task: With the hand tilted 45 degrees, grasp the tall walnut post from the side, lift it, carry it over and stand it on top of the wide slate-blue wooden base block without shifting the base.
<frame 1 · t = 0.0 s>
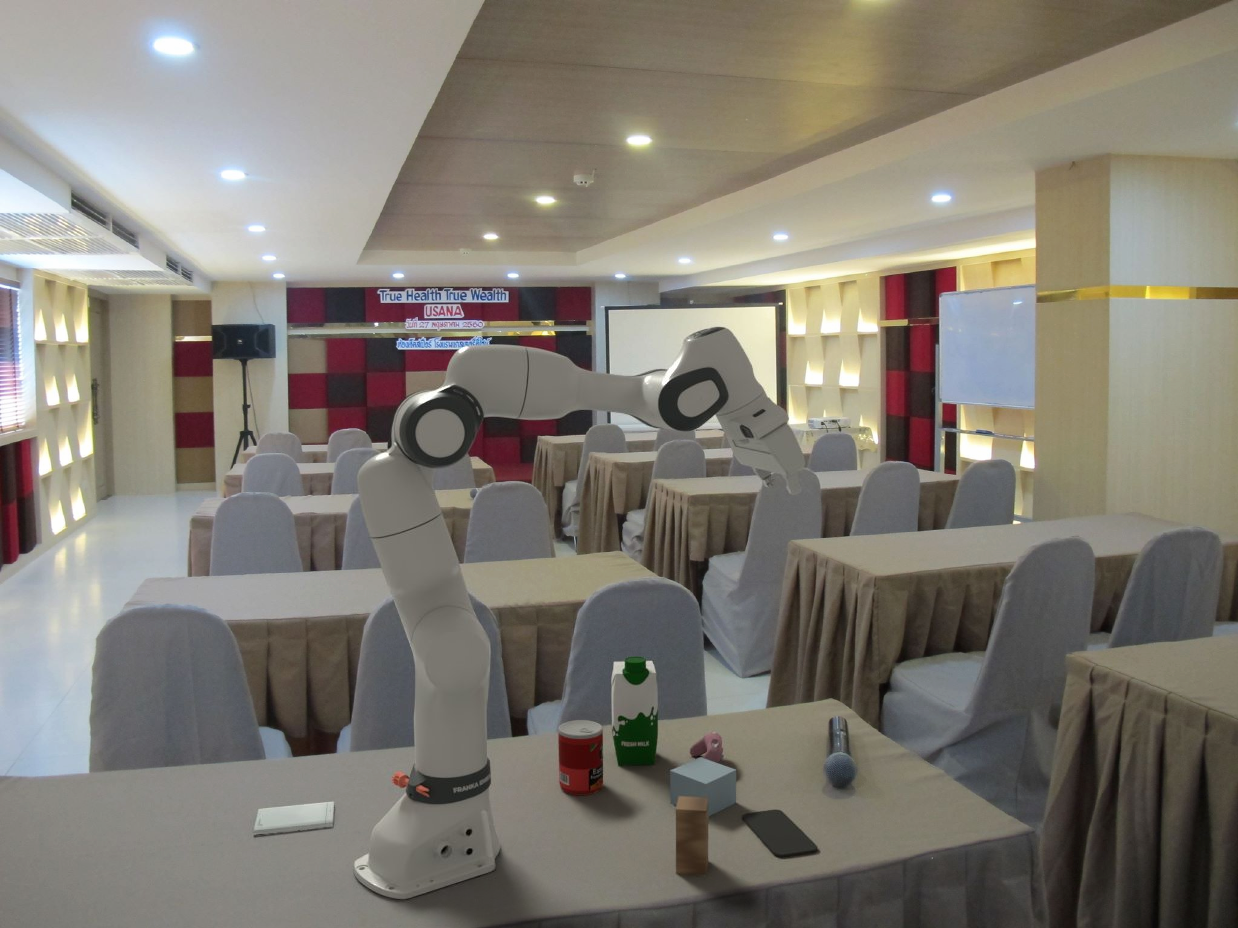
hand: (783, 489, 168), 54 cm above the table, tool tilted 30°, fingers open, 8 cm apart
milk carton: (635, 758, 194), on the table
canned food: (581, 787, 181), on the table
video game controller: (706, 765, 190), on the table
walnut post: (692, 866, 152), on the table
hard drive: (295, 824, 169), on the table
phone: (778, 836, 163), on the table
base block: (703, 803, 174), on the table
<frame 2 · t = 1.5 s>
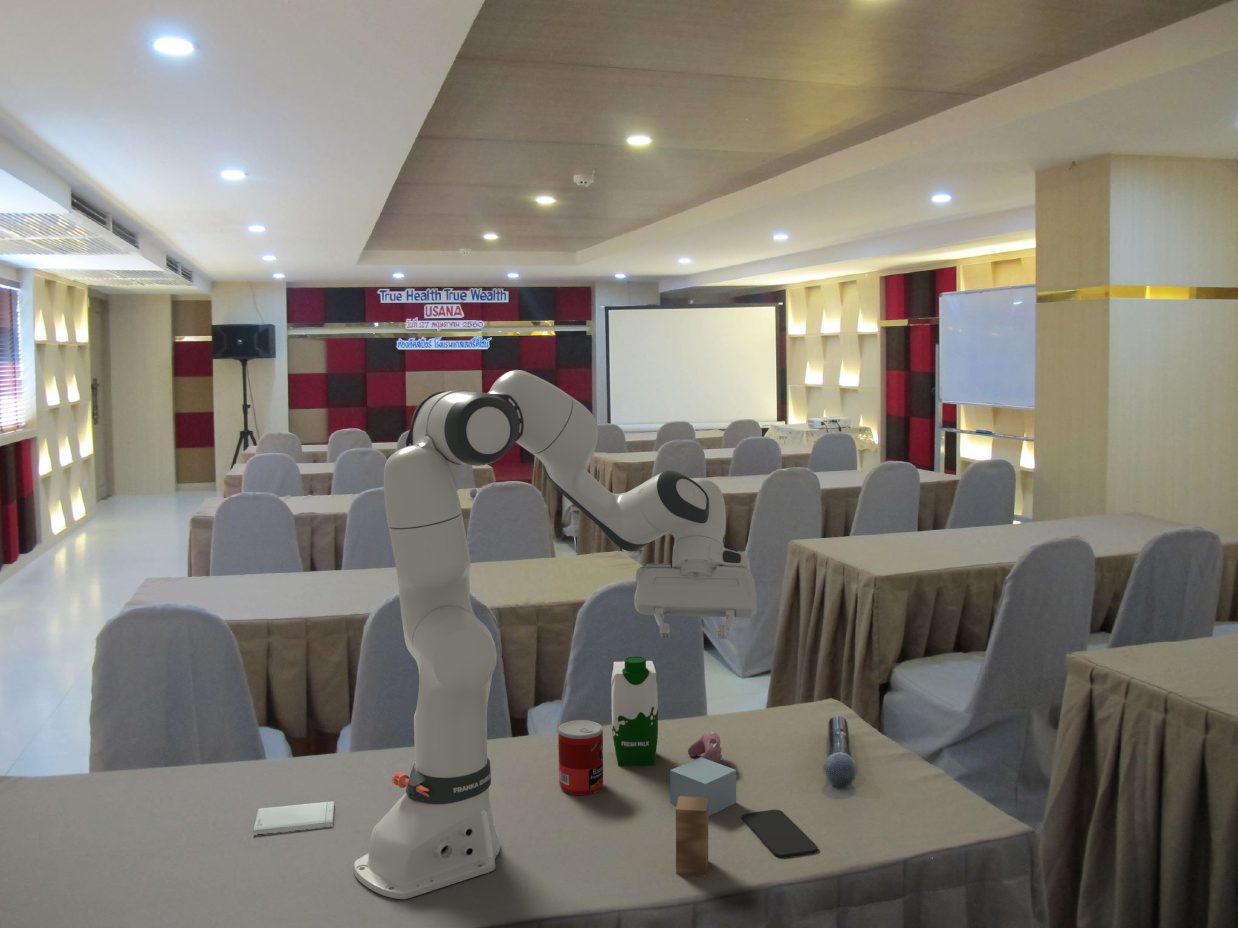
hand: (693, 636, 164), 31 cm above the table, tool tilted 45°, fingers open, 8 cm apart
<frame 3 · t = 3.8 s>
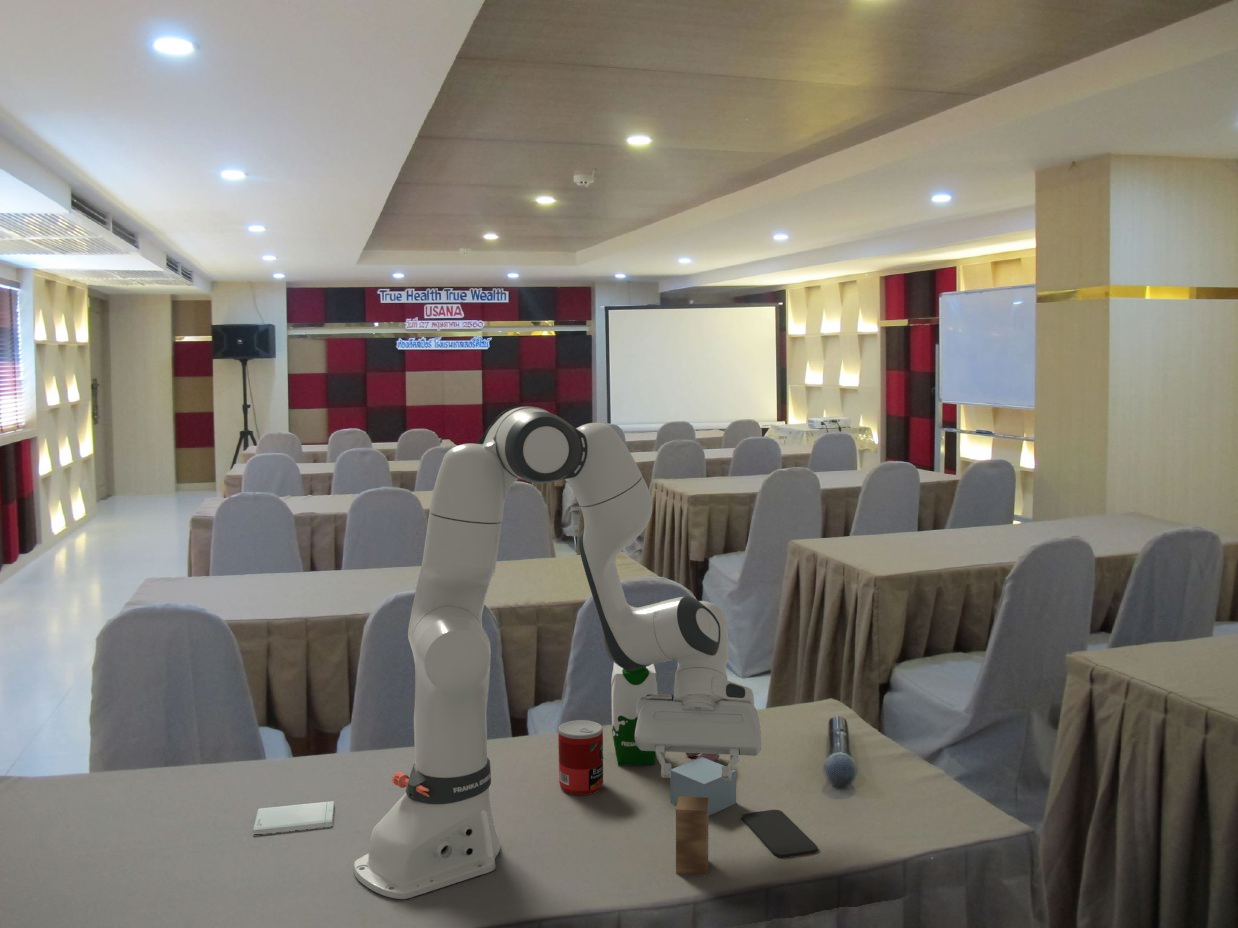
hand: (696, 777, 158), 11 cm above the table, tool tilted 45°, fingers open, 8 cm apart
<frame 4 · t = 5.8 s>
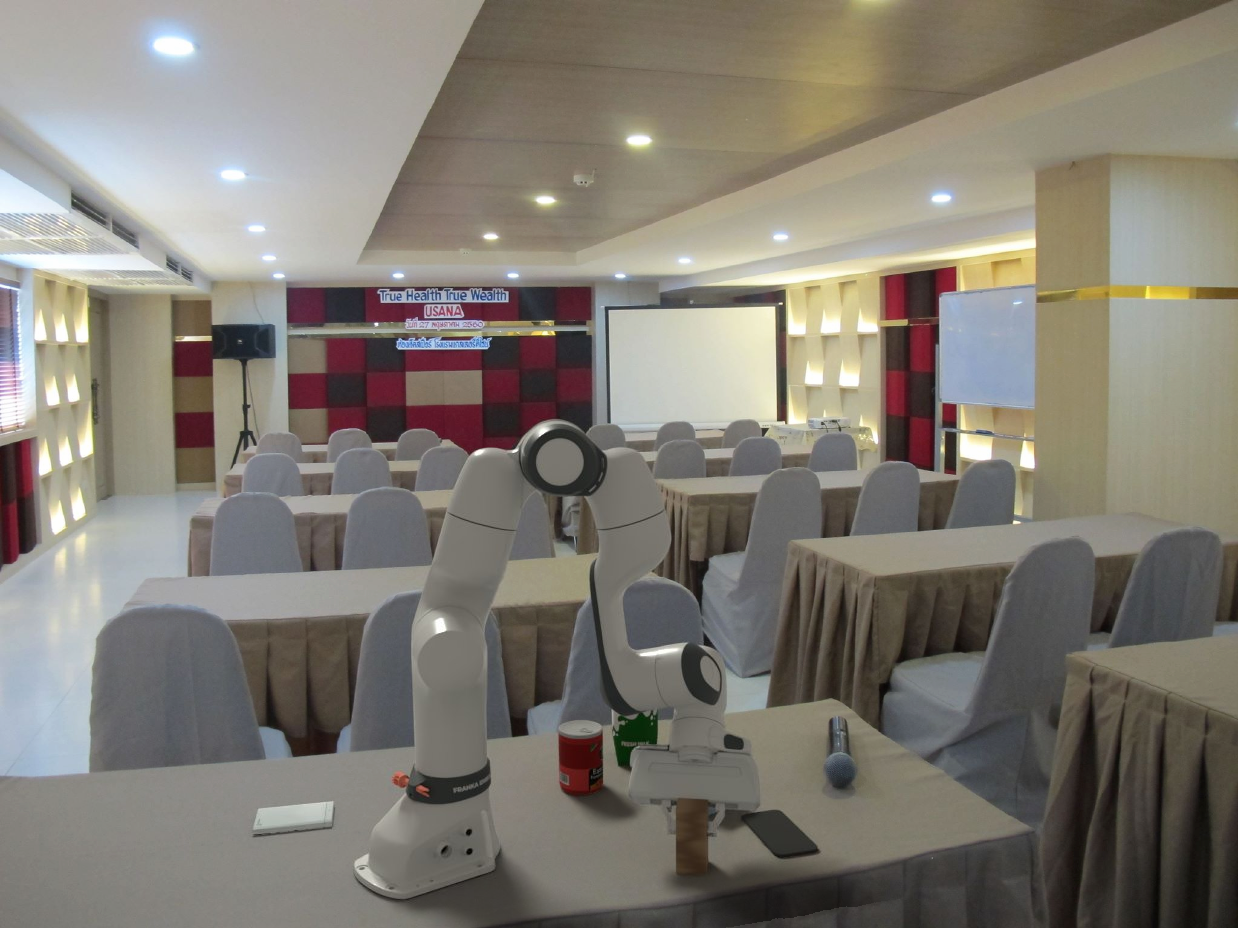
hand: (691, 834, 151), 5 cm above the table, tool tilted 45°, fingers closed on walnut post, 4 cm apart
walnut post: (692, 866, 152), on the table, touching gripper
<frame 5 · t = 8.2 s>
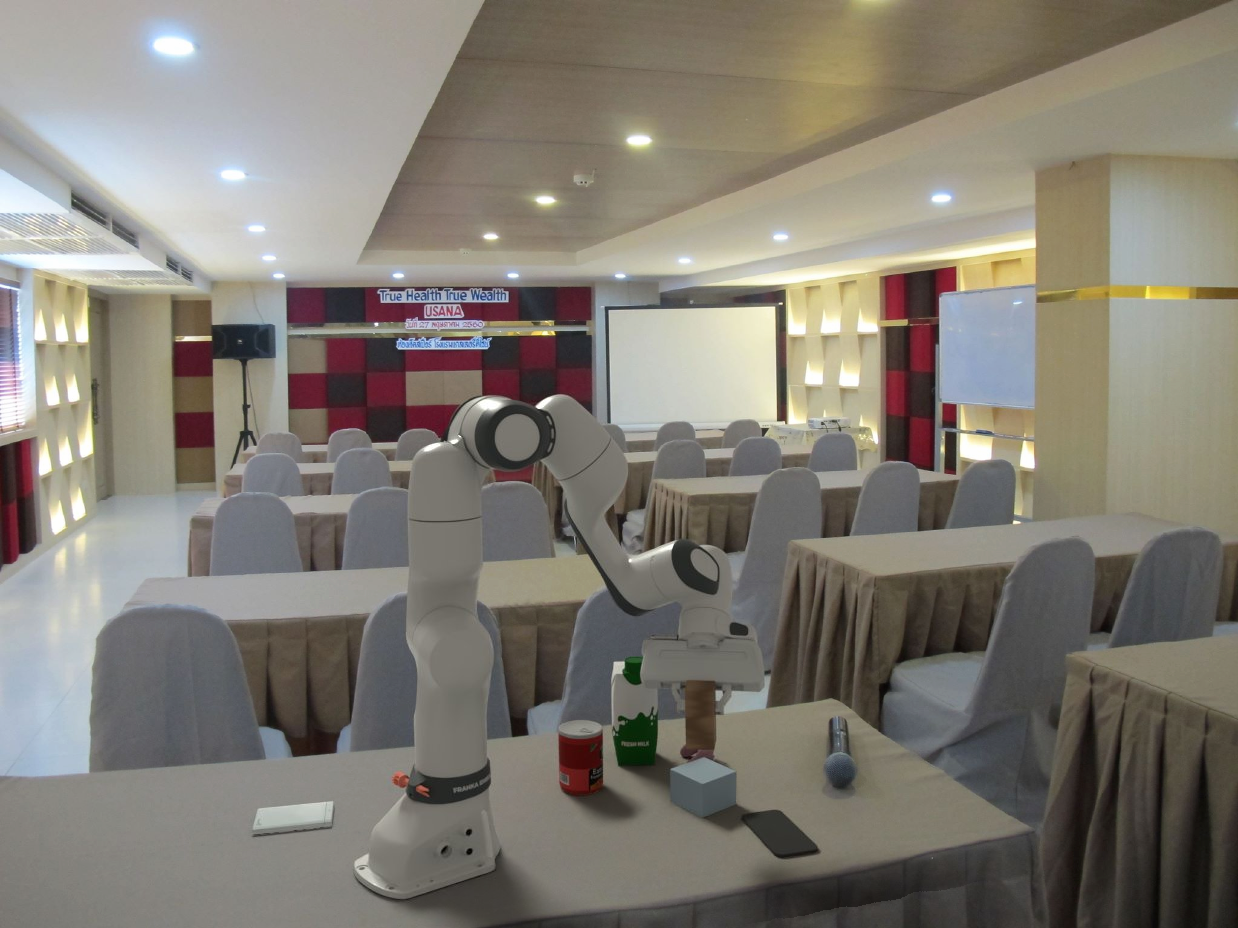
hand: (700, 712, 161), 20 cm above the table, tool tilted 45°, fingers closed on walnut post, 4 cm apart
walnut post: (701, 744, 162), point 15 cm above the table, touching gripper
when the fingers open (13 cm above the table, at t = 10.9 s): walnut post drops 1 cm, resting on base block.
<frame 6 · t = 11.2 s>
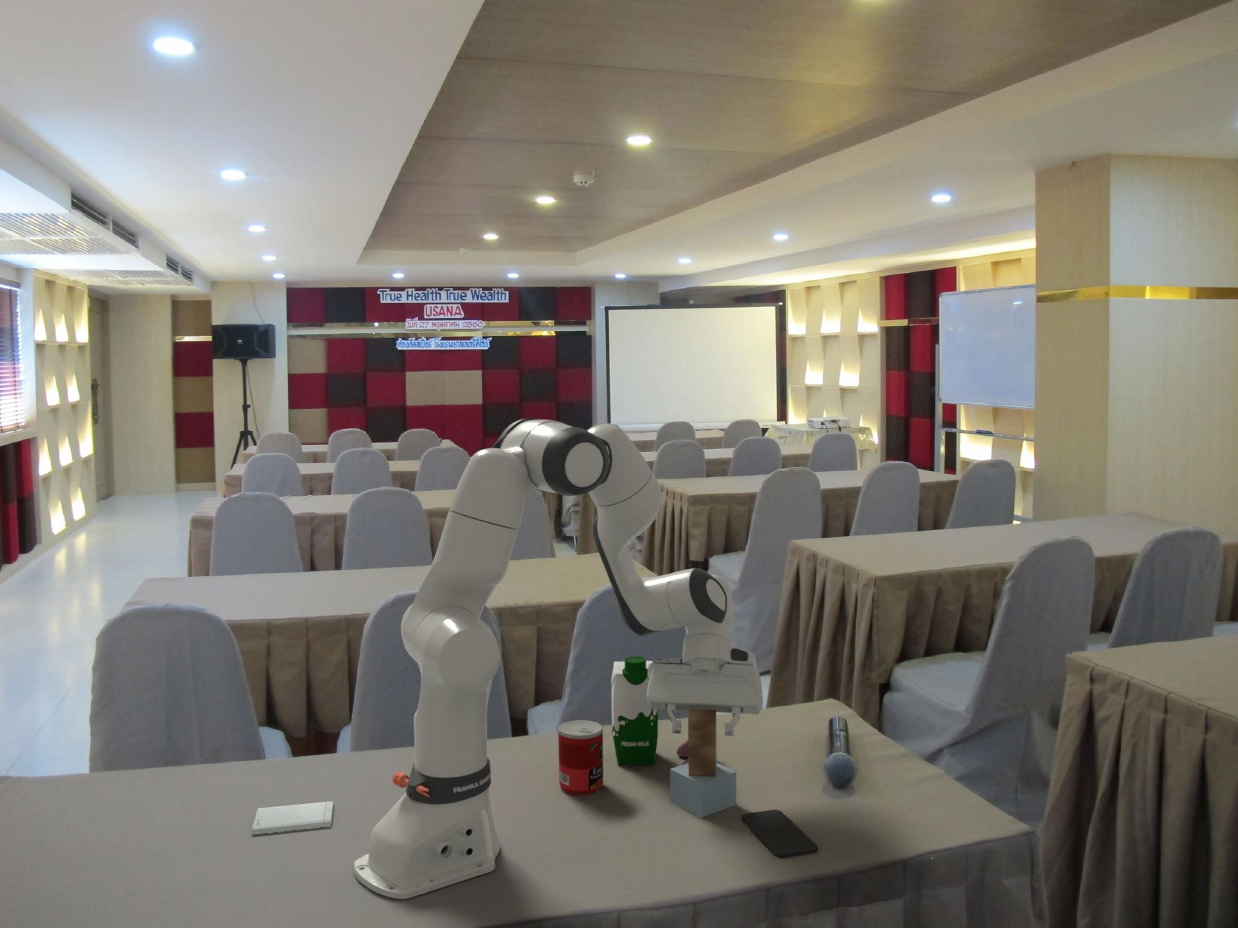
hand: (702, 733, 172), 13 cm above the table, tool tilted 45°, fingers open, 8 cm apart
walnut post: (702, 770, 173), point 6 cm above the table, touching base block
base block: (703, 803, 174), on the table, touching walnut post
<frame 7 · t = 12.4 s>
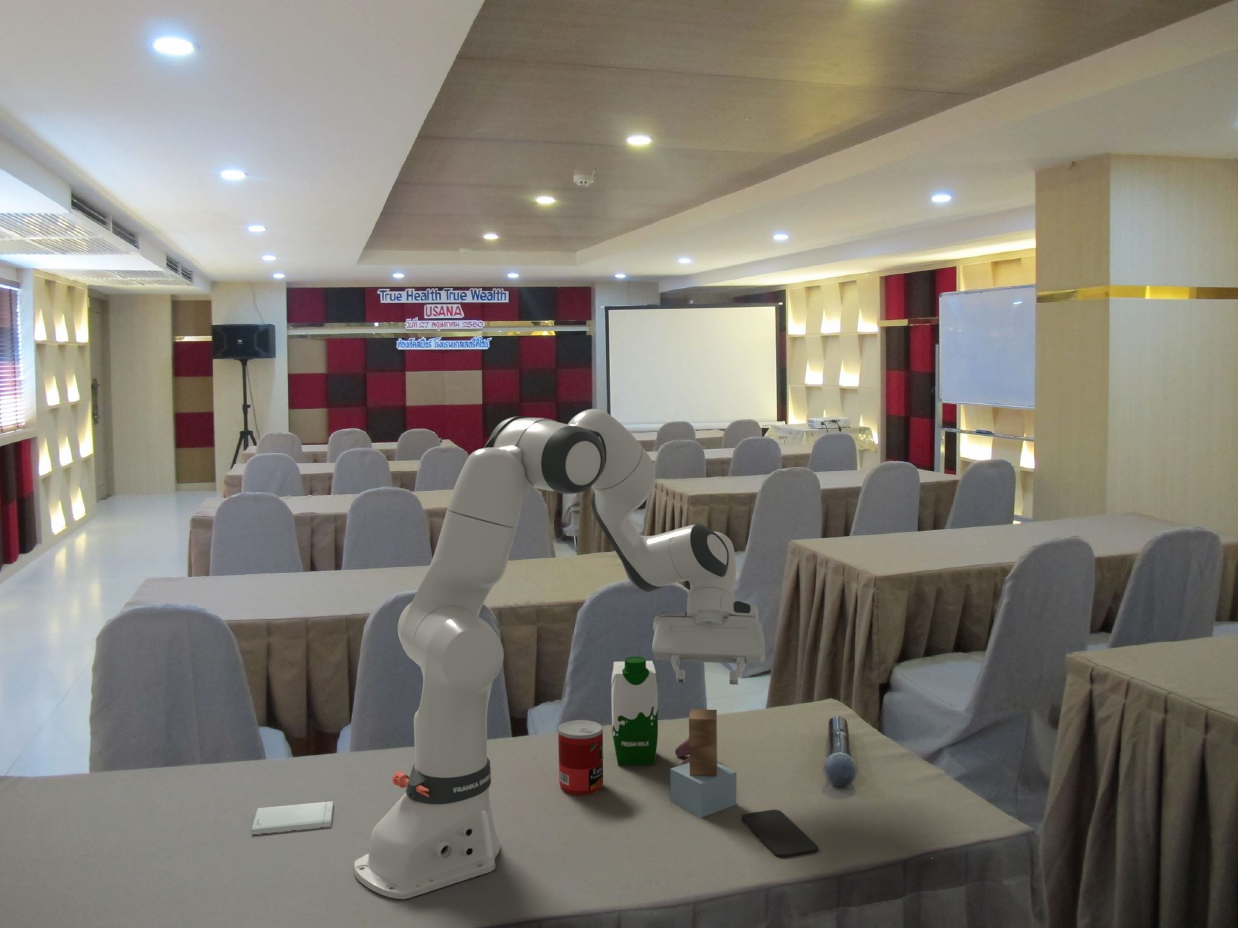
hand: (706, 682, 178), 19 cm above the table, tool tilted 45°, fingers open, 8 cm apart
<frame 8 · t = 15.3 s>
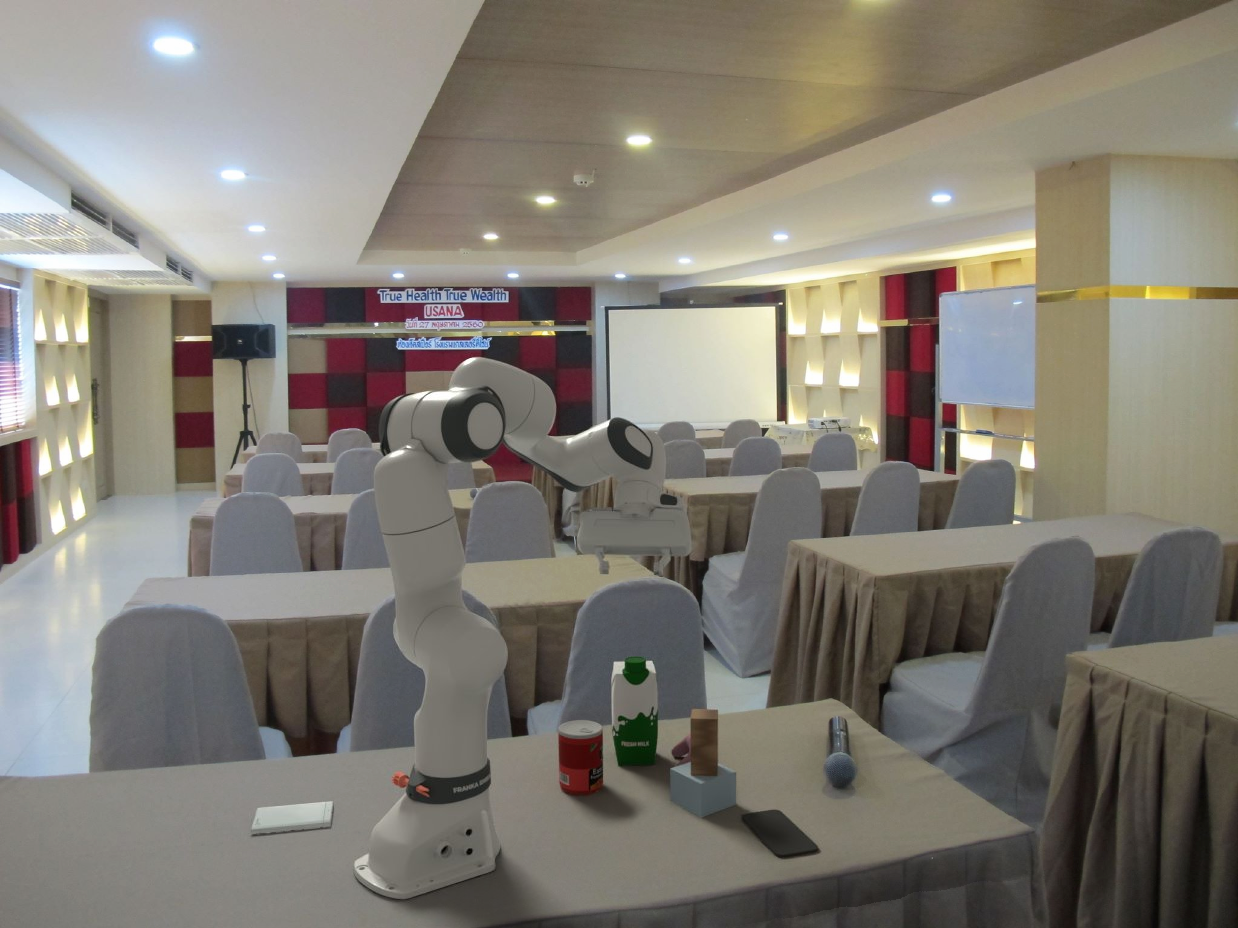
hand: (630, 573, 174), 39 cm above the table, tool tilted 45°, fingers open, 8 cm apart
at the end: walnut post 0.3 cm off-centre on the base block, point 6.0 cm above the base block's base; walnut post tilted 1°; base block moved 0.3 cm from its start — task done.
